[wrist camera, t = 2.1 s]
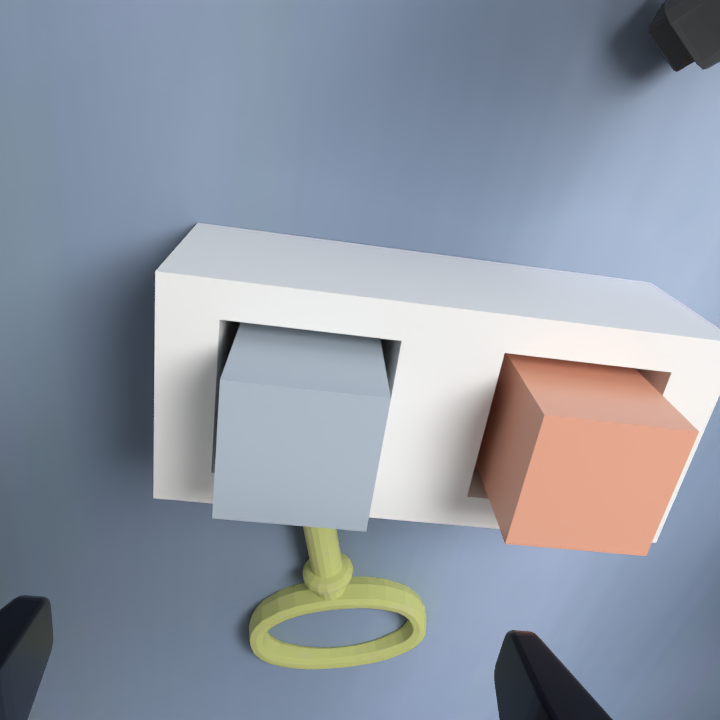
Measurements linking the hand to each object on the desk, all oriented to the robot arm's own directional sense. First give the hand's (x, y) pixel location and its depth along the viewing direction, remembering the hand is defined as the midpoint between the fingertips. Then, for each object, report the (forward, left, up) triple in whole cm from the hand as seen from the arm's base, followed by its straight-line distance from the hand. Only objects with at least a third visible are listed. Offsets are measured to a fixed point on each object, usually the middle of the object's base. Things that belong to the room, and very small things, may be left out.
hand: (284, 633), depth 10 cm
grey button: (0, 0, -9) cm, 9 cm away
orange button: (0, -7, -9) cm, 12 cm away
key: (-10, -2, -13) cm, 16 cm away
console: (0, -4, -12) cm, 13 cm away
